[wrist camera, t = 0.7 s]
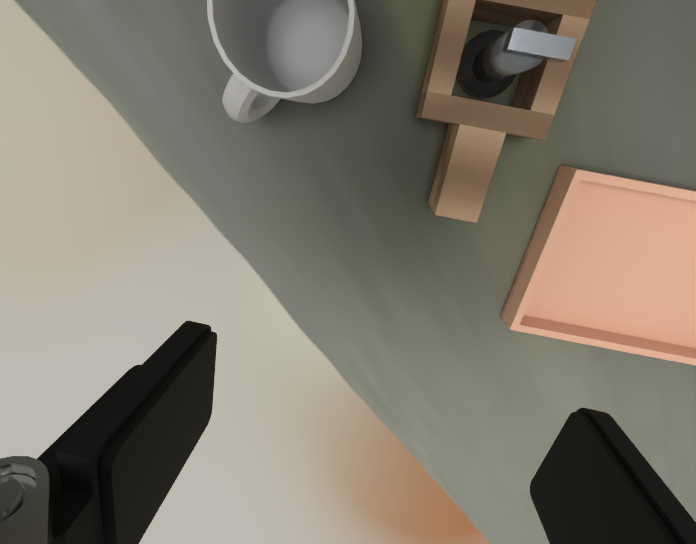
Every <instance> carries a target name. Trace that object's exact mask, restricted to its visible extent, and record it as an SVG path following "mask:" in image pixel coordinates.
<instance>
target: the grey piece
mask: <svg viewBox="0 0 696 544" xmlns="http://www.w3.org/2000/svg"><path fill="white" fill-rule="evenodd" d="M575 42H576V39H575V38H569V37H564V36H559V35H553V34H549V32H548V30H547V28H546V27H545V26H544V25H543V24H542V23H541V22H539V21H536V20H526V21H523V22H521V23H519V24H518V25H516V26H515V27H513V28H512V29H510V30H509V31H508V32H506V33H505V32H502V31H498V30H490V31H485V32H483V33H481V34H479V35H477V36H476V37H474V38H473V39H472V40H471V41H470V42H469V43H468V44H467V45H466V46H465V47H464V49H463V52H462V55H461V59H460V63H459V67H458V71H457V76H458V80H459V83H460V85H461V87H462V88H463V89H464V91H465V92H467V93H468V94H469V95H471V96H473V97H477V98H487V97H492V96H495V95H497V94H499V93H501V92H502V91H504V90H505V89H506V88H507V87H508V86H509V85H510V84H511V83H512V81H513V80H514V78H515V76H516V74H518V73H521V72H524V71H527V70H530V69H532V68H534V67H536V66H537V65H538V64H539V63H540V62H541V61H542V60H547V61H552V62H557V63H562V62H565V61H568V60H569V58H570V56H571V53H572V50H573V47H574V45H575Z"/></svg>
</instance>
